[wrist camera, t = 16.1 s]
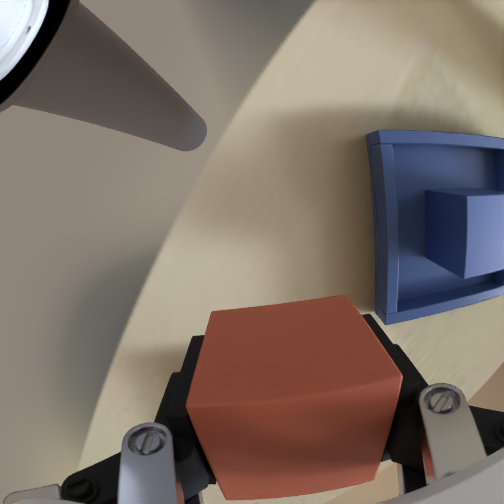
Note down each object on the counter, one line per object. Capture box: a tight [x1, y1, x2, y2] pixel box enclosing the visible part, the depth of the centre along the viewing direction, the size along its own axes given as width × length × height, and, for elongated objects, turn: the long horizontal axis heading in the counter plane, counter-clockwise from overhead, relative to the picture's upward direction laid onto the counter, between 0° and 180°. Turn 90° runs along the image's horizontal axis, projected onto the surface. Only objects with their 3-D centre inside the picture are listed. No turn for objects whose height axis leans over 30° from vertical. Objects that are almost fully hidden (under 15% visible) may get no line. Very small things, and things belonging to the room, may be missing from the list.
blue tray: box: [366, 130, 504, 325], centre depth 16 cm, size 12×12×2 cm
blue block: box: [425, 188, 504, 279], centre depth 14 cm, size 4×4×4 cm
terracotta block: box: [186, 295, 402, 500], centre depth 8 cm, size 4×4×4 cm
